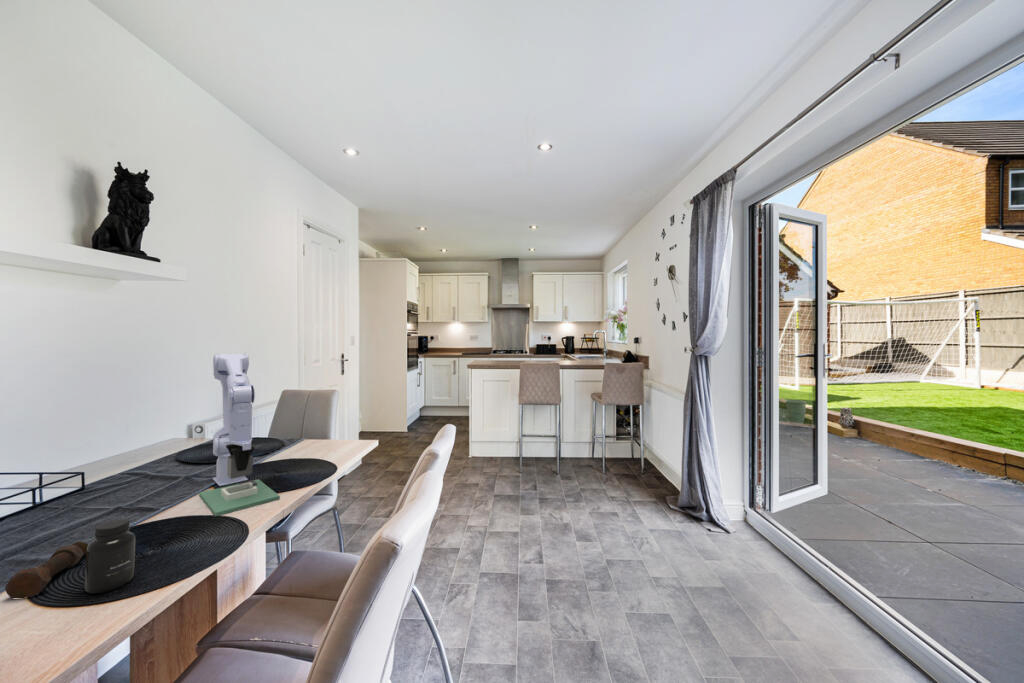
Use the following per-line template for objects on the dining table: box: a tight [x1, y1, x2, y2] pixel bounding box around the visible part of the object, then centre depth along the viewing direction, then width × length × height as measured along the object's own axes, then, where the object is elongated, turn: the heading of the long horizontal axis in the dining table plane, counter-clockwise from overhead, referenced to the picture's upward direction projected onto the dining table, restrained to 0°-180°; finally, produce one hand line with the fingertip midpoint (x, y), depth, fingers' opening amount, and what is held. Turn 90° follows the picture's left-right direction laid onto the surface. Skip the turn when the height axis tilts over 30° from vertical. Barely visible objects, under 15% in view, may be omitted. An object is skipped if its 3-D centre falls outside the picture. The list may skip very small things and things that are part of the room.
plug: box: [227, 455, 254, 479], centre depth 118 cm, size 4×6×6 cm
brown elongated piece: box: [4, 541, 90, 599], centre depth 79 cm, size 6×5×15 cm
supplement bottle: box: [84, 518, 136, 594], centre depth 77 cm, size 7×7×12 cm
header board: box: [198, 478, 280, 517], centre depth 118 cm, size 20×16×3 cm
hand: (239, 468), depth 118 cm, fingers closed on plug, 4 cm apart
